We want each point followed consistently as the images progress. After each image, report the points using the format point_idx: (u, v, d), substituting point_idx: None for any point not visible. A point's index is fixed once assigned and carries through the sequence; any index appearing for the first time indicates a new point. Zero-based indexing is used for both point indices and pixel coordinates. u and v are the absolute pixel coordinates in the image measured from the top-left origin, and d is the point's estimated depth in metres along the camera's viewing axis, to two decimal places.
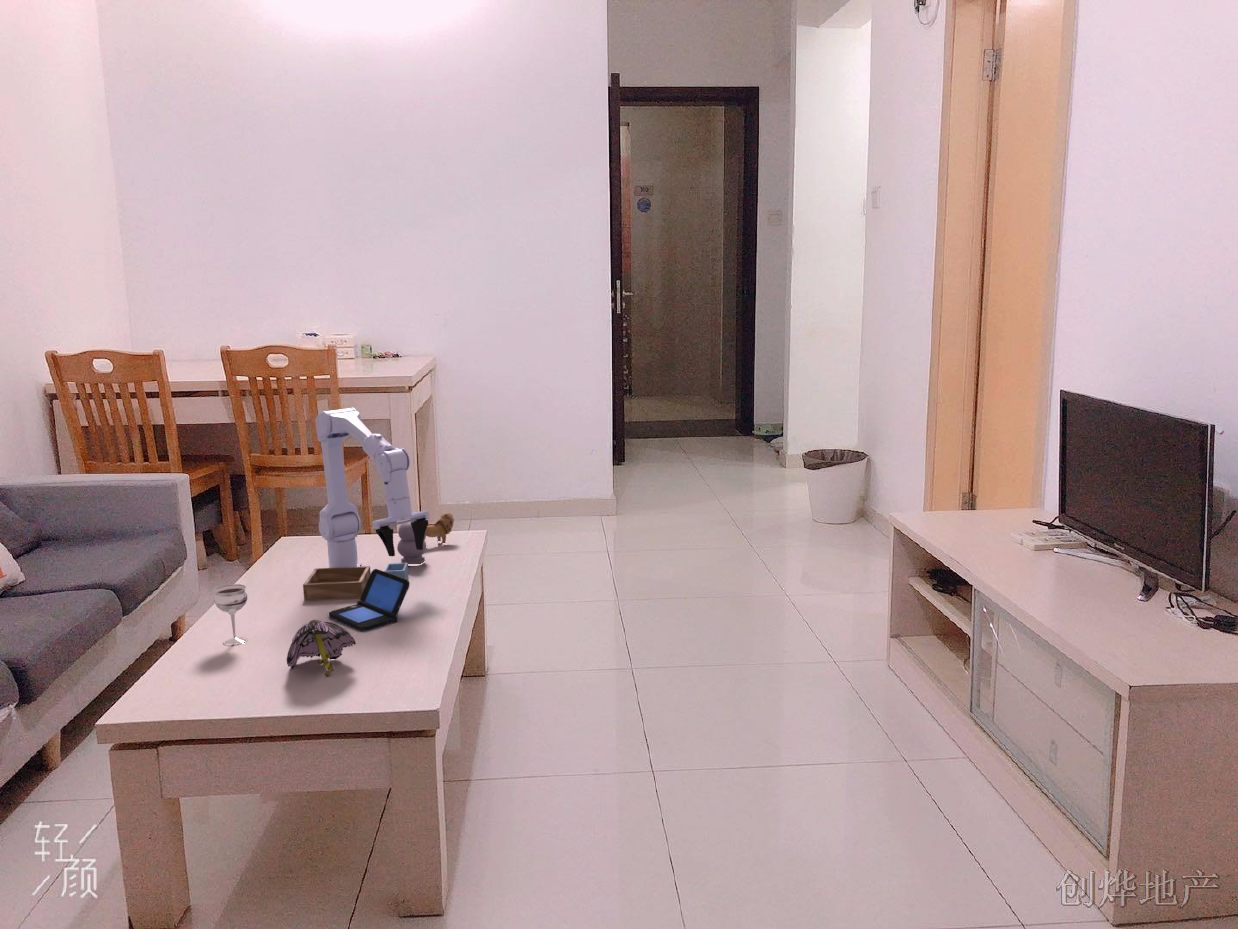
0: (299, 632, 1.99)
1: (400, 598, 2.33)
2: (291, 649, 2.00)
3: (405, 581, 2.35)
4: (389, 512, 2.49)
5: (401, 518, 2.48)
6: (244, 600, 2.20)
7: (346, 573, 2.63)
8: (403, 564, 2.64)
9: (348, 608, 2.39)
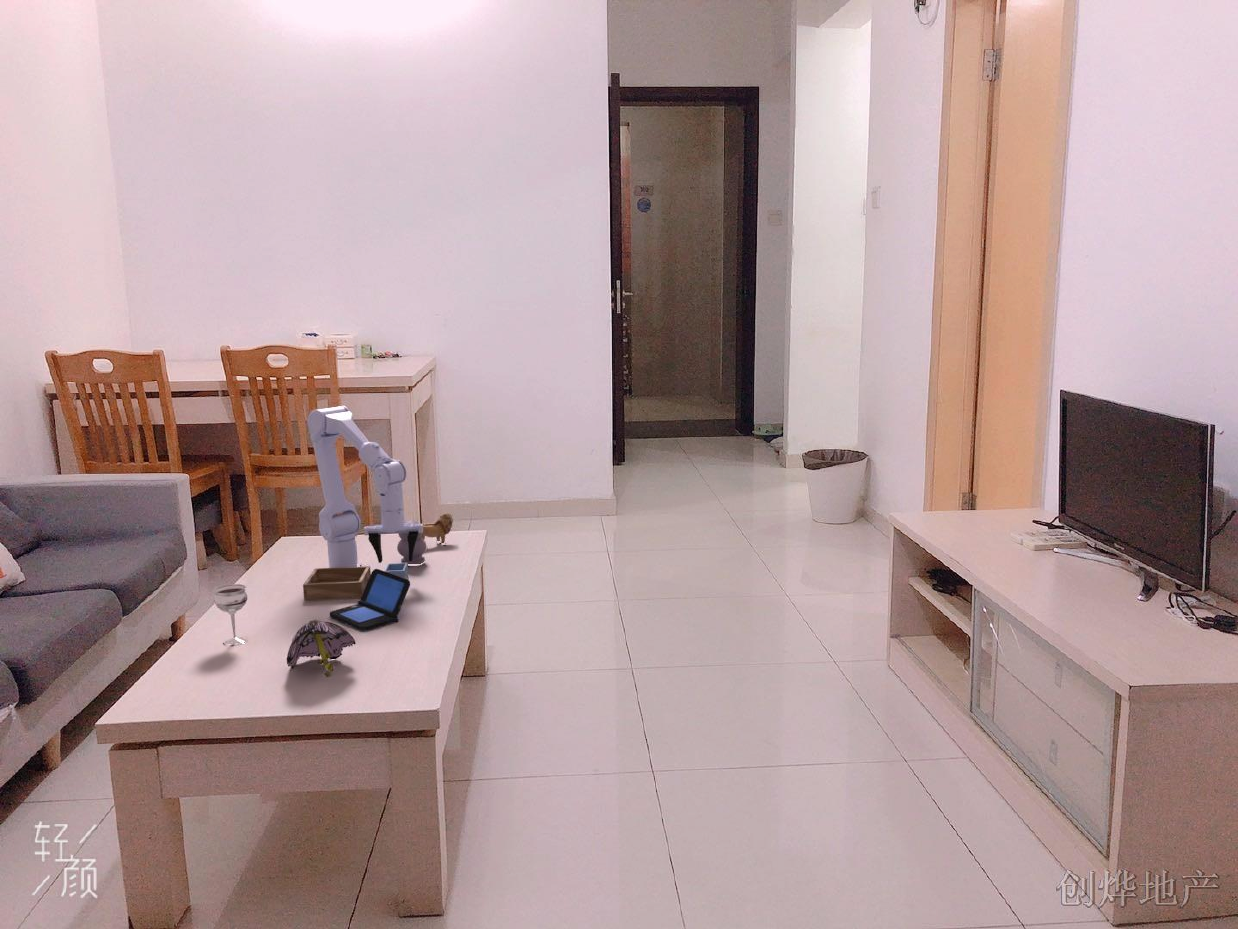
0: (299, 632, 1.99)
1: (401, 597, 2.33)
2: (291, 649, 2.00)
3: (406, 581, 2.35)
4: None
5: (386, 530, 2.56)
6: (244, 600, 2.20)
7: (346, 573, 2.63)
8: (403, 564, 2.64)
9: (349, 608, 2.39)
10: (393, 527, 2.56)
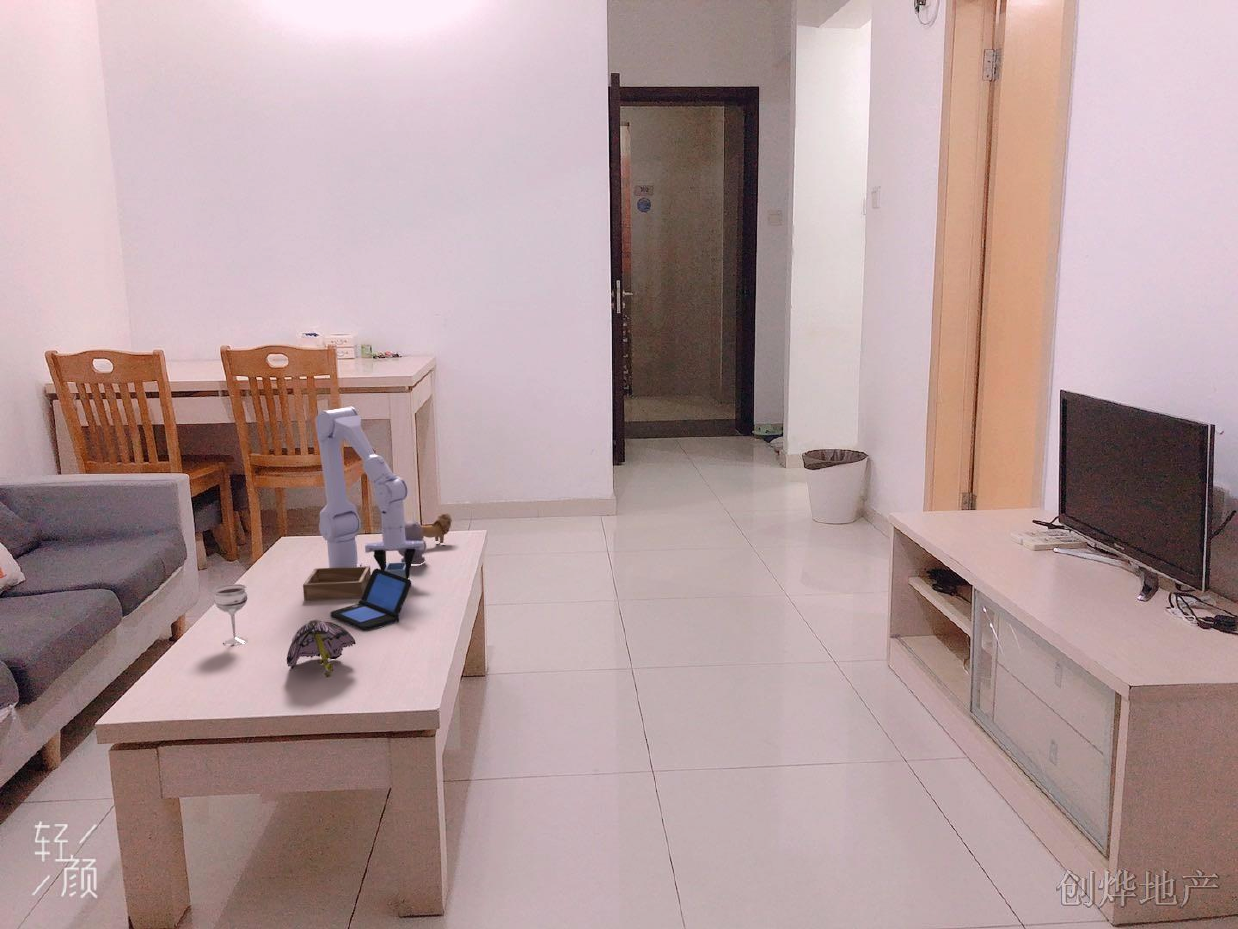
0: (299, 632, 1.99)
1: (402, 597, 2.34)
2: (291, 649, 2.00)
3: (407, 580, 2.35)
4: None
5: (387, 547, 2.57)
6: (244, 600, 2.20)
7: (346, 573, 2.63)
8: (403, 563, 2.64)
9: (350, 608, 2.39)
10: (394, 544, 2.57)
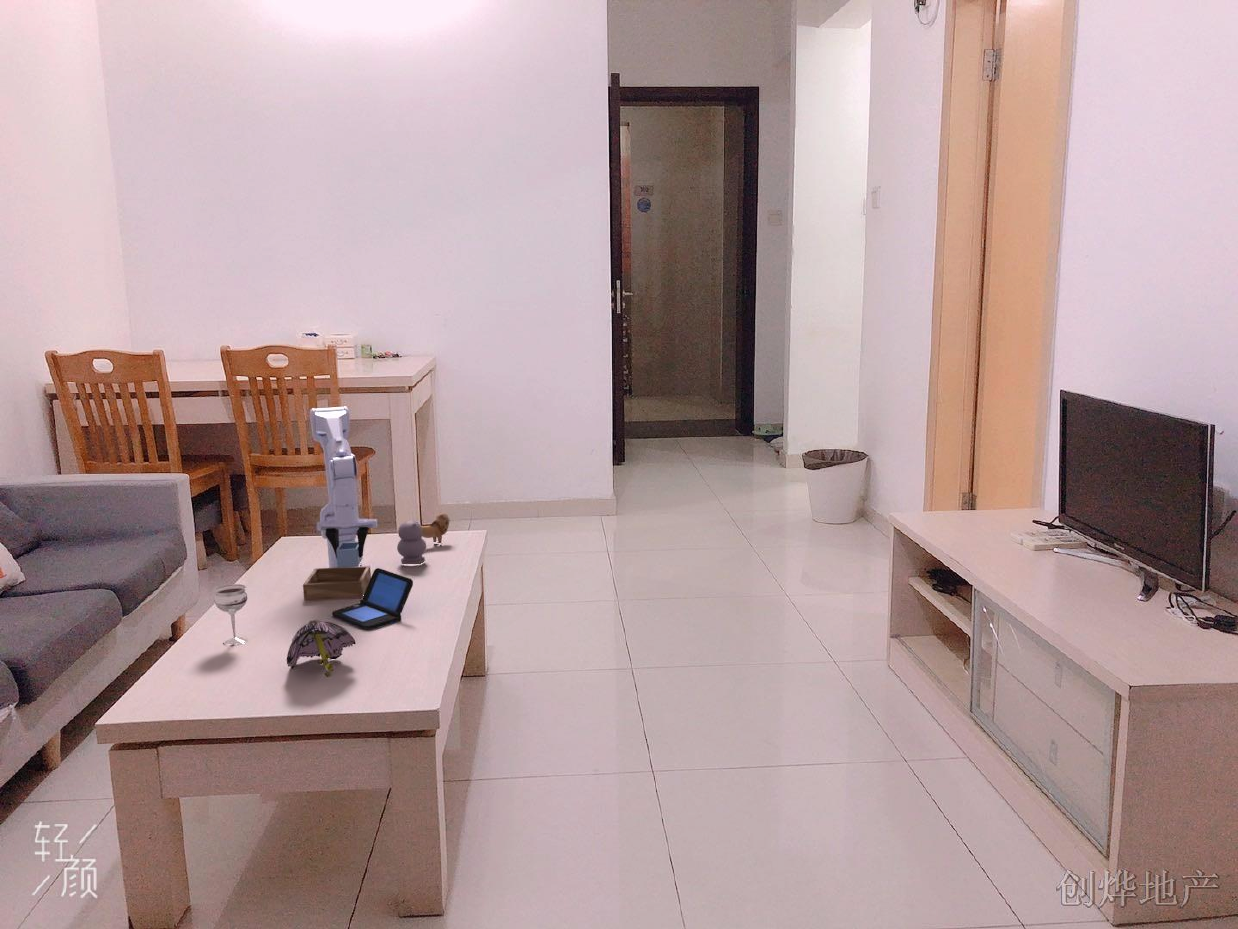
0: (299, 632, 1.99)
1: (404, 596, 2.34)
2: (291, 649, 2.00)
3: (409, 580, 2.35)
4: None
5: (340, 525, 2.52)
6: (244, 600, 2.20)
7: (346, 573, 2.63)
8: (357, 543, 2.59)
9: (351, 607, 2.40)
10: (346, 522, 2.52)
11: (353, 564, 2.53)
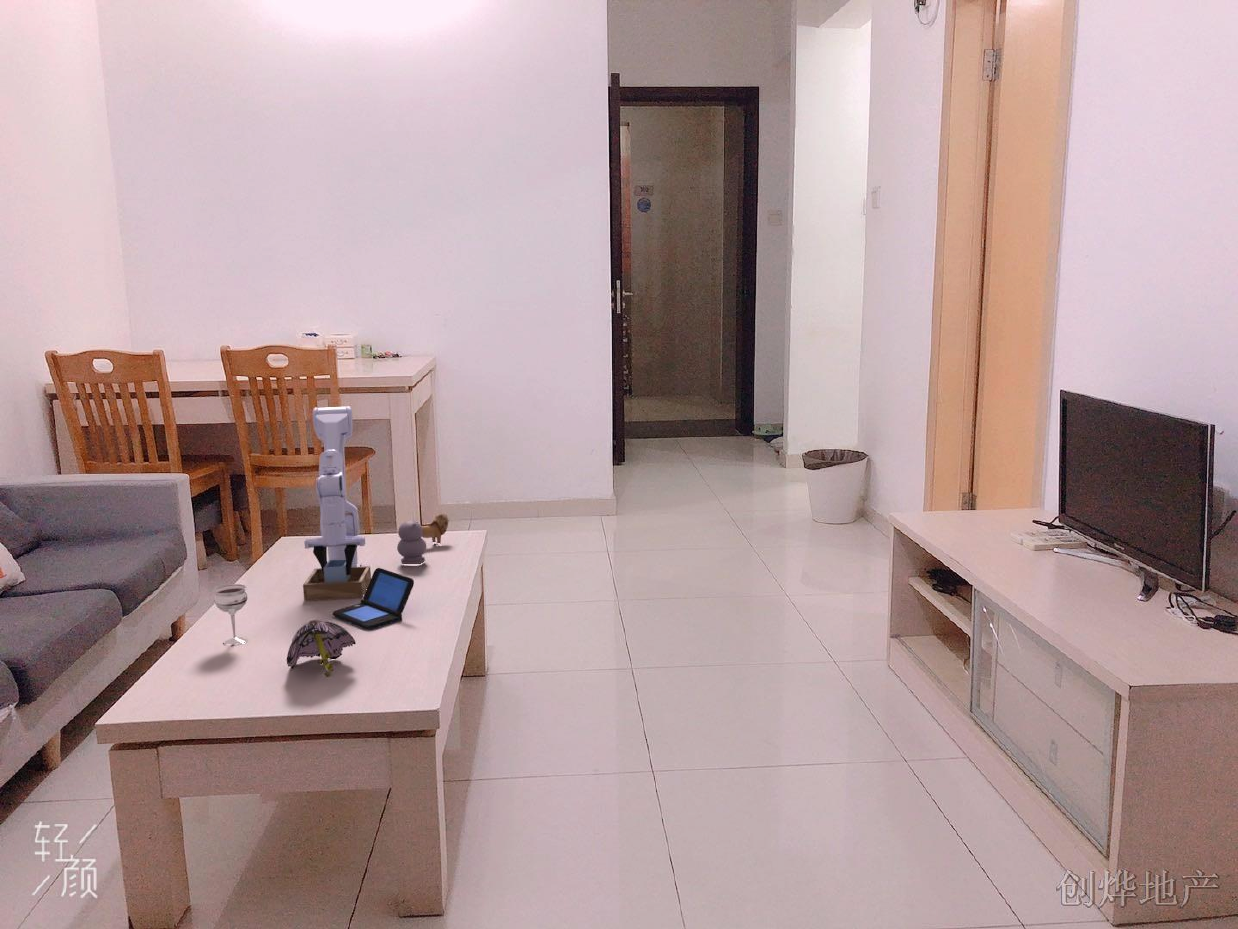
0: (299, 632, 1.99)
1: (405, 596, 2.34)
2: (291, 649, 2.00)
3: (410, 579, 2.36)
4: None
5: (327, 543, 2.52)
6: (244, 600, 2.20)
7: None
8: (344, 560, 2.59)
9: (352, 607, 2.40)
10: (334, 540, 2.52)
11: None
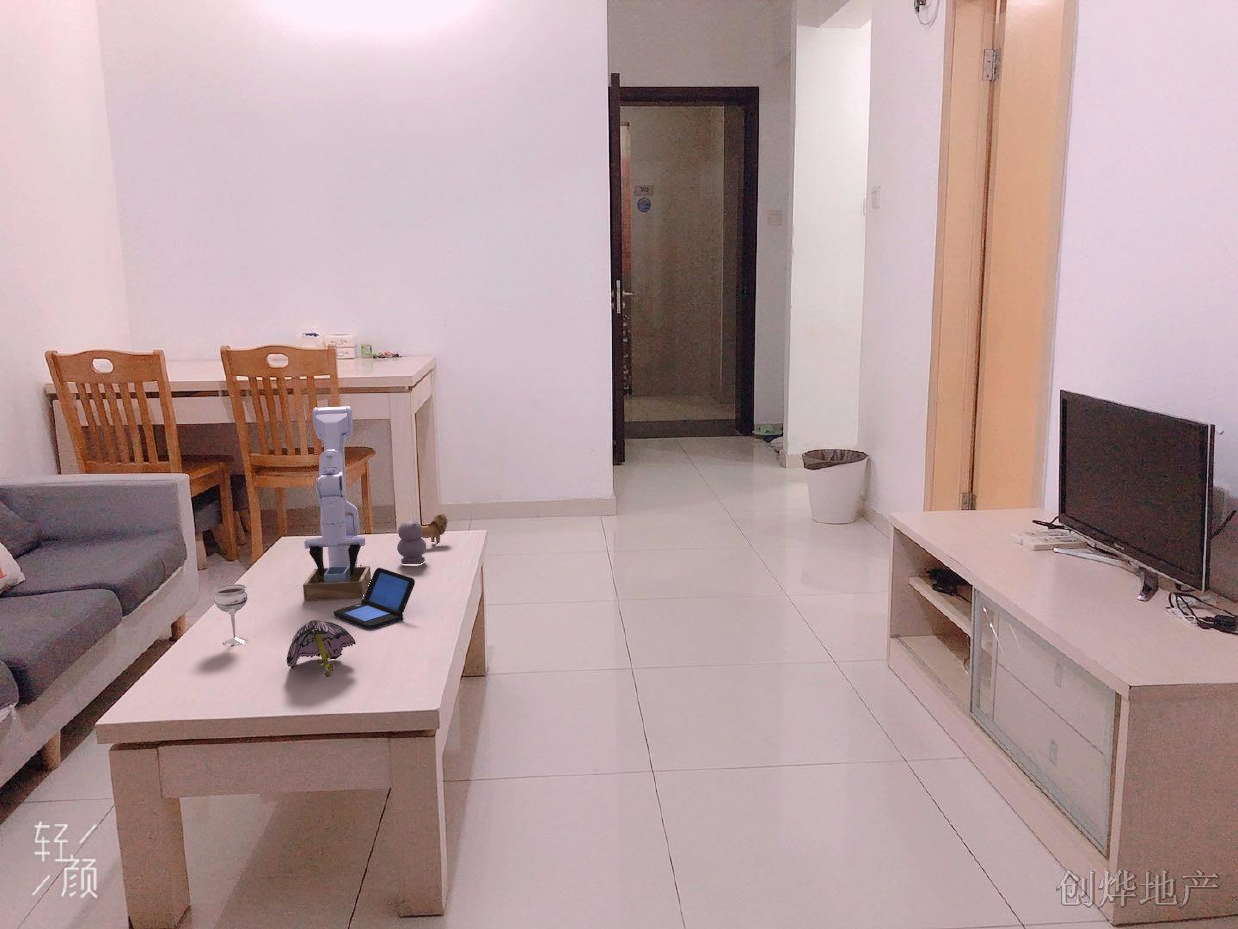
0: (299, 632, 1.99)
1: (406, 596, 2.35)
2: (291, 649, 2.00)
3: (410, 579, 2.36)
4: None
5: (327, 543, 2.52)
6: (244, 600, 2.20)
7: None
8: (345, 567, 2.59)
9: (353, 607, 2.40)
10: (334, 540, 2.52)
11: None
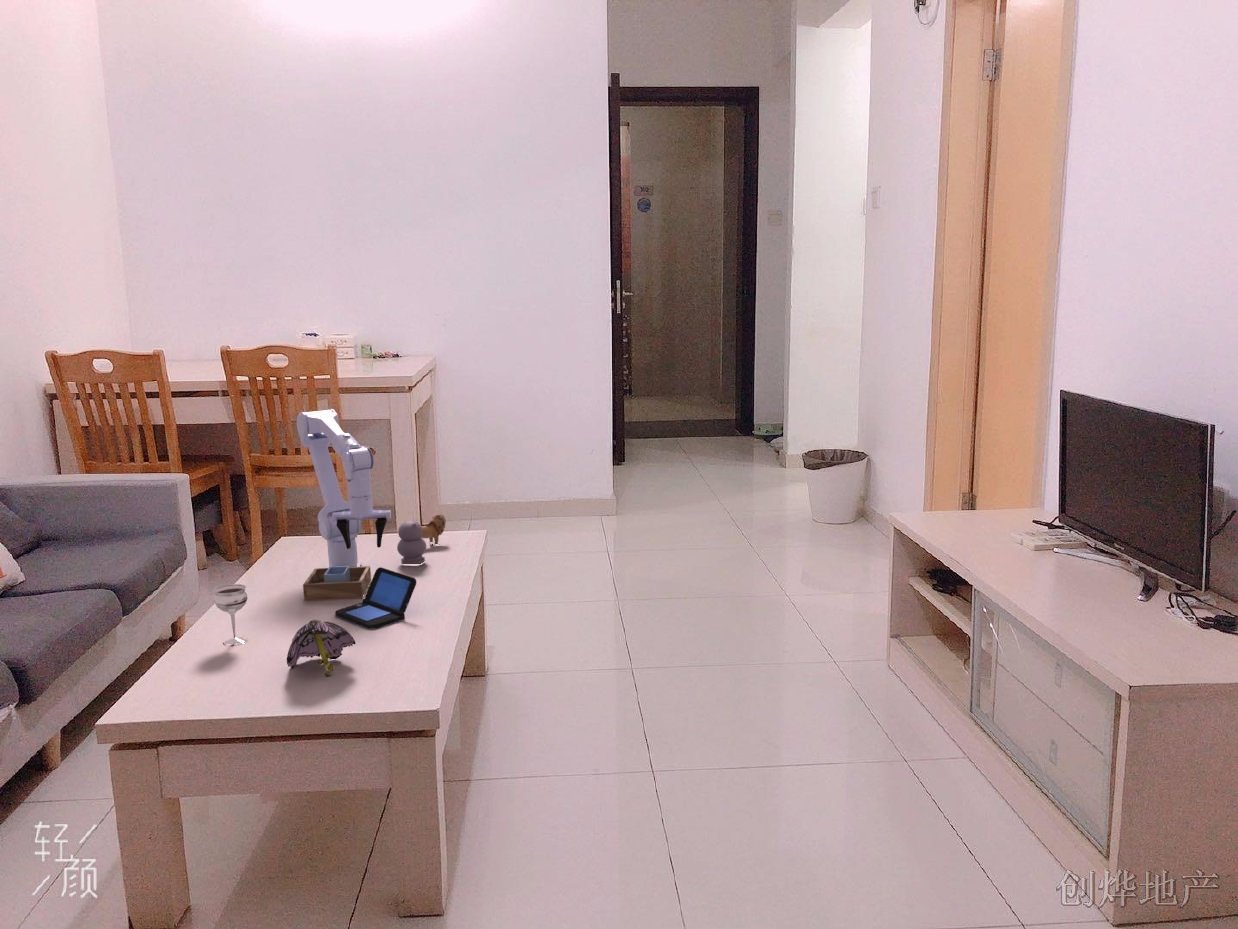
0: (299, 632, 1.99)
1: (408, 595, 2.35)
2: (291, 649, 2.00)
3: (412, 579, 2.36)
4: None
5: (354, 516, 2.57)
6: (244, 600, 2.20)
7: None
8: (345, 567, 2.59)
9: (354, 607, 2.40)
10: (361, 513, 2.57)
11: None
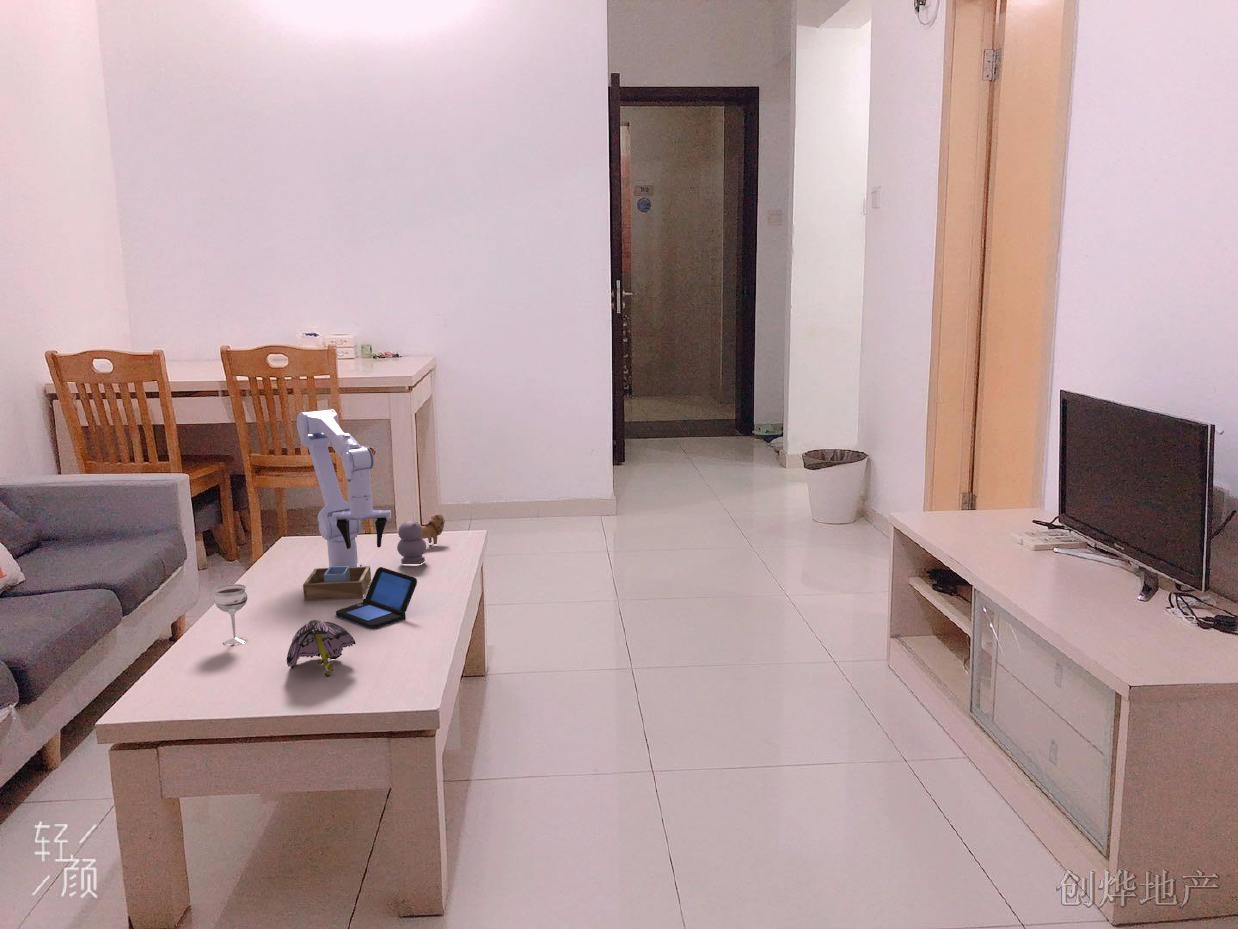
0: (299, 632, 1.99)
1: (409, 595, 2.35)
2: (291, 649, 2.00)
3: (413, 578, 2.36)
4: None
5: (354, 516, 2.57)
6: (244, 600, 2.20)
7: None
8: (345, 567, 2.59)
9: (354, 606, 2.40)
10: (361, 513, 2.57)
11: None
